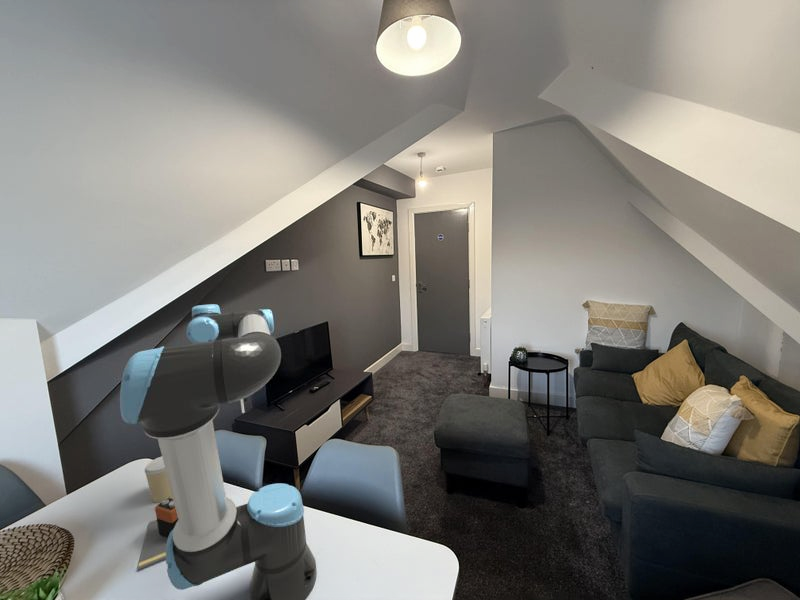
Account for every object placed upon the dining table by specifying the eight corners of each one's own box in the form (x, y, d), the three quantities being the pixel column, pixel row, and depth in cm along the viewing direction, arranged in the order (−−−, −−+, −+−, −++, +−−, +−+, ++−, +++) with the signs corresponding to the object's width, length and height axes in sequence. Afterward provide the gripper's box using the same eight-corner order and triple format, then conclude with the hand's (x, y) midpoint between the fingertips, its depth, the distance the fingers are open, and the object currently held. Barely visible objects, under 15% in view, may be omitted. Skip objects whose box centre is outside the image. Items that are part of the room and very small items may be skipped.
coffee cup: (189, 486, 115) (184, 454, 113) (166, 505, 106) (160, 472, 104) (167, 484, 117) (162, 453, 115) (142, 503, 108) (136, 470, 106)
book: (201, 545, 90) (200, 543, 90) (137, 571, 83) (137, 569, 83) (202, 504, 105) (202, 502, 105) (149, 523, 99) (149, 522, 98)
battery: (174, 541, 91) (169, 509, 90) (158, 535, 93) (153, 504, 92) (189, 529, 95) (184, 498, 94) (173, 523, 97) (168, 493, 96)
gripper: (253, 344, 111) (260, 402, 113) (164, 358, 98) (174, 423, 101) (256, 348, 104) (262, 410, 107) (161, 364, 92) (171, 434, 95)
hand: (219, 417), depth 104 cm, fingers open, 13 cm apart
